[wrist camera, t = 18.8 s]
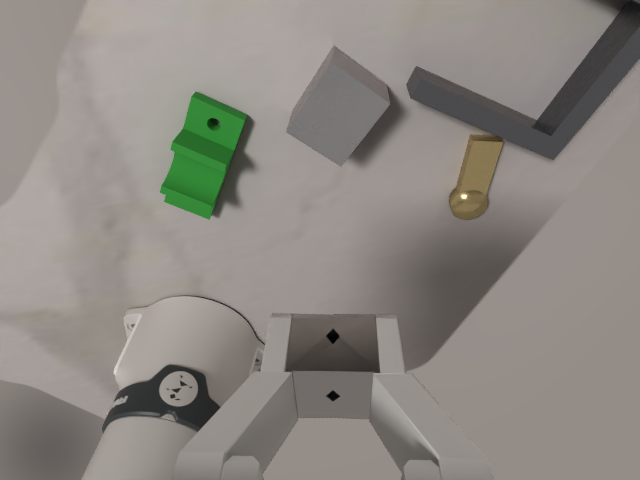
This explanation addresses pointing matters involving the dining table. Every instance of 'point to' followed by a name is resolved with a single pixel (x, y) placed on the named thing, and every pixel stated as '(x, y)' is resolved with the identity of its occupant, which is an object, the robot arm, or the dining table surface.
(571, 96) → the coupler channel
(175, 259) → the dining table surface
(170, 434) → the robot arm
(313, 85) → the block
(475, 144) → the brass key
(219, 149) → the pipe clamp
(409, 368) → the dining table surface
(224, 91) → the dining table surface
